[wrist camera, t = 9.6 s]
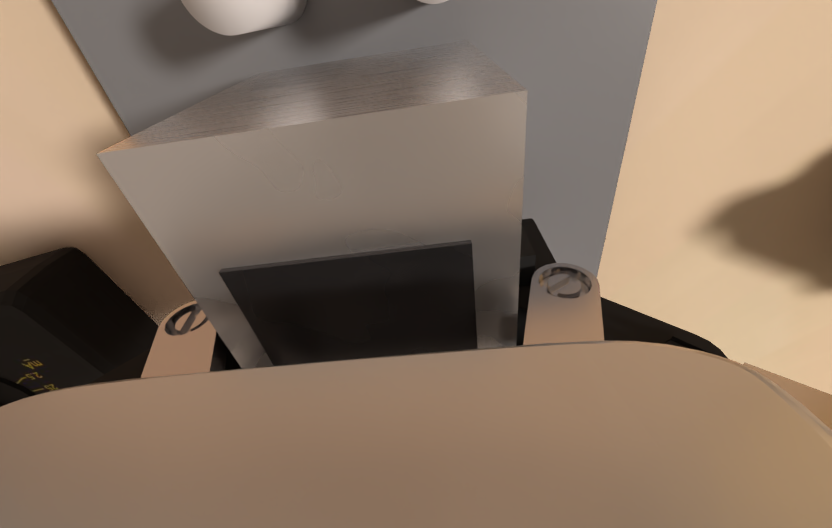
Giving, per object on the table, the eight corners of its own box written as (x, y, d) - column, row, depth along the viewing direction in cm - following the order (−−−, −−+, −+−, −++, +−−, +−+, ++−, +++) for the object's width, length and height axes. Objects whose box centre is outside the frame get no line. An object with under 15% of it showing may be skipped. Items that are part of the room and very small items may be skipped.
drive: (257, 73, 9) (90, 156, 5) (467, 40, 9) (529, 93, 4) (350, 332, 15) (320, 489, 10) (479, 319, 15) (511, 477, 10)
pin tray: (41, -79, 10) (-203, -130, 6) (671, -197, 8) (883, -358, 5) (279, 358, 20) (248, 442, 16) (572, 332, 19) (611, 415, 15)
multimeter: (82, 237, 16) (-31, 318, 12) (289, 447, 27) (267, 525, 23) (-131, 298, 18) (-288, 385, 14) (142, 470, 29) (98, 546, 25)
